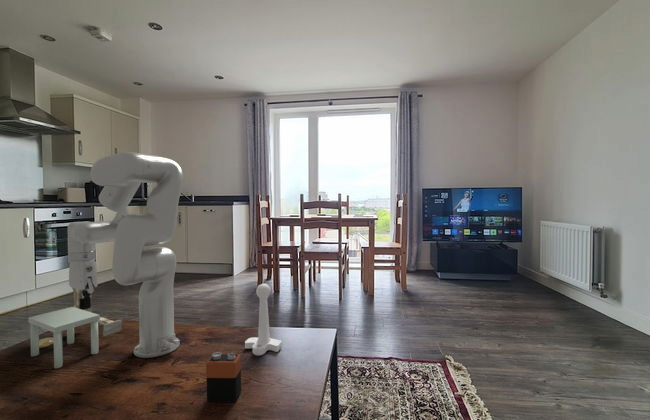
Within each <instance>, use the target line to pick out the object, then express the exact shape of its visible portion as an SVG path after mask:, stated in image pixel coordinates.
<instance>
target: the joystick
mask: <svg viewBox="0 0 650 420" xmlns="http://www.w3.org/2000/svg"><path fill="white" fill-rule="evenodd" d="M255 290H256V291H255V293H256V296H257V297H258V299H259V306H258V332H257V334H258V335H257V337H254V336H253V337H249V338H247V339H246V340H245V341H244V348H245V349H247V350H248V349H252V354H253V355H255V356H262V355H264V354H266V352H267V351H272V352H275V353H276V352H277V353H278V352H279V351H280V350H282V349H283V343H282V342H283V341H282V340H281V339H276V338H271V334H270V321H269V320H270V319H269V318H270V317H269V306H268V298H269V296H270V295H271V291H272V289H271V286H270V285H269V284H267V283H261V284H258V286H257V287H256V289H255Z"/></svg>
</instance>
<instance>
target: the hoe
mask: <svg viewBox="0 0 650 420" xmlns="http://www.w3.org/2000/svg"><path fill="white" fill-rule="evenodd" d="M86 288H87V287H85V289H86ZM84 293H85V291H84ZM80 299H81V293H80V290H79V289H75V288H74V291H73V307H75V308H78V309H80ZM84 310H85V311H88V312H92V311H93V310H92V305H91V308H88V309H84ZM92 313H93V312H92ZM122 322H123V321H122V319H118V320H117V319H116V320H111V319H108V318H105V317H102V316H100V320H98V324H100V325H102V327H103V328H102V332H103V333H102V335H103V336H104V337H106V336H109V335H112V334H115V333H118V332H121V331H122V330H123V329H122V328H123V327H122V326H123V324H122Z"/></svg>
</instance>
